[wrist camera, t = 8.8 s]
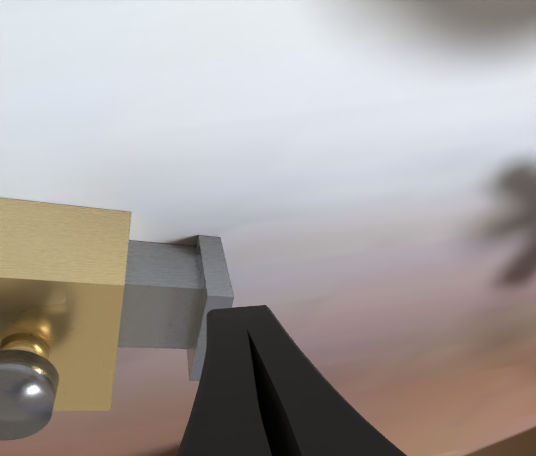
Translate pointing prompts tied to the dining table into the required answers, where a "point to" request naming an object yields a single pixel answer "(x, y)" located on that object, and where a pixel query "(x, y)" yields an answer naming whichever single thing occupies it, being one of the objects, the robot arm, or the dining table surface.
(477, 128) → the dining table surface
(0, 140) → the dining table surface
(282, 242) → the dining table surface
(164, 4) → the dining table surface
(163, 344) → the valve body
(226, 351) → the robot arm
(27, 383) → the valve lever
